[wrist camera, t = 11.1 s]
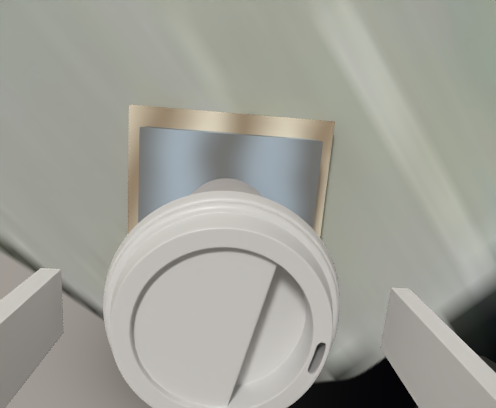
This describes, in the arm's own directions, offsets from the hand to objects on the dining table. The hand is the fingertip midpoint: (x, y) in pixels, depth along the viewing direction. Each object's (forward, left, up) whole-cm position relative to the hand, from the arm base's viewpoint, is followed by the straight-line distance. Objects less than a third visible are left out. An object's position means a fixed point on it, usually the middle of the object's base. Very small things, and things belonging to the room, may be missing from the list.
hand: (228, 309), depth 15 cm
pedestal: (0, 0, -18) cm, 18 cm away
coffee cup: (0, 0, -14) cm, 14 cm away
